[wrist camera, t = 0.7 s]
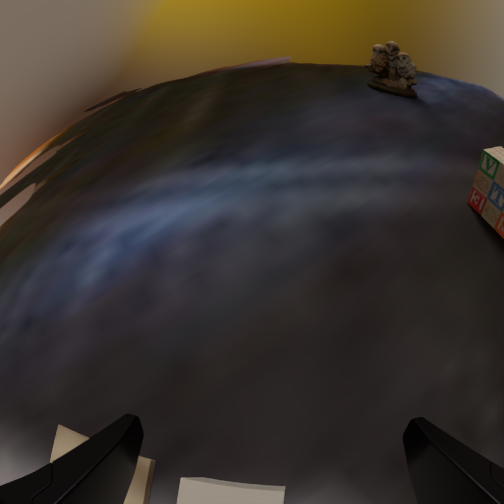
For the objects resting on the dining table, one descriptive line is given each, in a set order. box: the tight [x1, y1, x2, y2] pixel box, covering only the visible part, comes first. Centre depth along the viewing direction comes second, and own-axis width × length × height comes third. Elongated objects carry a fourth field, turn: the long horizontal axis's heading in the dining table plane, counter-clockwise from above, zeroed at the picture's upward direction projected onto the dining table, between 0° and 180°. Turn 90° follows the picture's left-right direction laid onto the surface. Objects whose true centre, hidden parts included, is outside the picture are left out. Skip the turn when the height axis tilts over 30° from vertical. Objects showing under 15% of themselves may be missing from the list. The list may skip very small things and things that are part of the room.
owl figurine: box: [365, 41, 417, 97], centre depth 67 cm, size 18×12×17 cm, turn 49°
